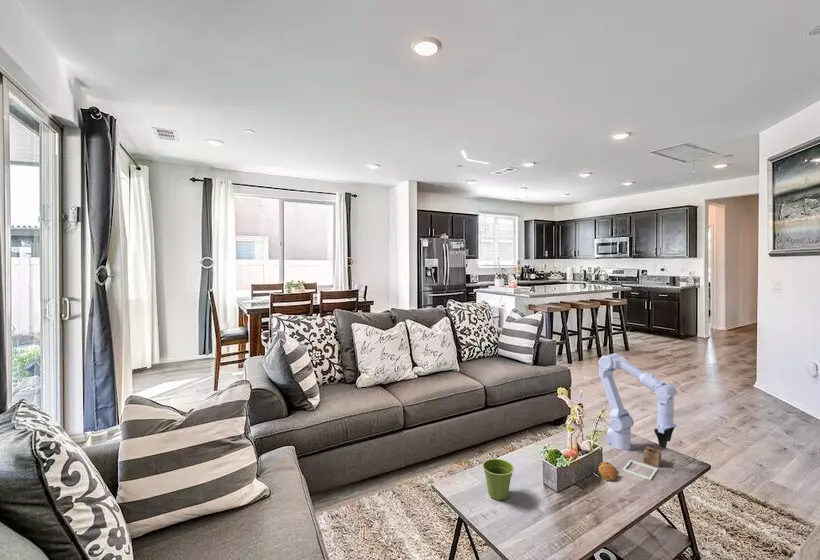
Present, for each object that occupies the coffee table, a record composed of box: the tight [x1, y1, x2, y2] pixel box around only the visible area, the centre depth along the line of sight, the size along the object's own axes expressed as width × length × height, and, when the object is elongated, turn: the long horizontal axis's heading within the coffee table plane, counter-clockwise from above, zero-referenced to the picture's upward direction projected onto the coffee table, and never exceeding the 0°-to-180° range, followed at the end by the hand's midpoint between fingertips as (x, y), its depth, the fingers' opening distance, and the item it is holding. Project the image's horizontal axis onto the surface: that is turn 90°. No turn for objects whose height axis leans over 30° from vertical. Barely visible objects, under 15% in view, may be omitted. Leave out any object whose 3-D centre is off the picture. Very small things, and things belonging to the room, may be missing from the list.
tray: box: [622, 459, 658, 481], centre depth 159 cm, size 10×10×2 cm
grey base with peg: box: [642, 460, 663, 468], centre depth 164 cm, size 6×6×5 cm
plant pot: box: [481, 458, 515, 501], centre depth 146 cm, size 12×12×11 cm
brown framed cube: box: [643, 446, 663, 468], centre depth 164 cm, size 5×5×5 cm
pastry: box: [597, 461, 618, 481], centre depth 157 cm, size 9×7×4 cm
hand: (664, 443), depth 162 cm, fingers open, 7 cm apart
